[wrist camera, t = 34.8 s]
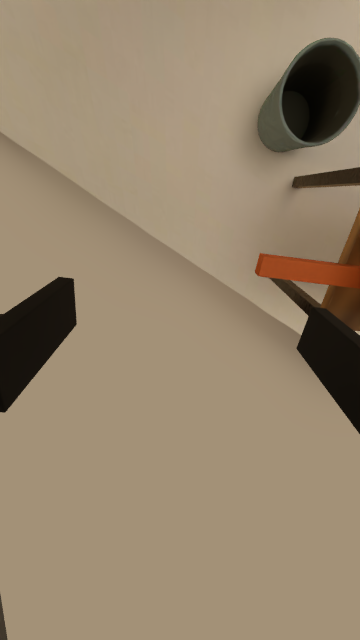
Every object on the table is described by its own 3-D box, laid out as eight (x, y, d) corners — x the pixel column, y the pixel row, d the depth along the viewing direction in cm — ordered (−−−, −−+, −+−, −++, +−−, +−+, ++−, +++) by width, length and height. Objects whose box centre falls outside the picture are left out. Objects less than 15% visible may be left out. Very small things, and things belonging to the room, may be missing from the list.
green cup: (253, 86, 39) (280, 45, 29) (320, 74, 39) (373, 28, 28) (253, 162, 44) (277, 151, 33) (314, 152, 43) (357, 139, 32)
